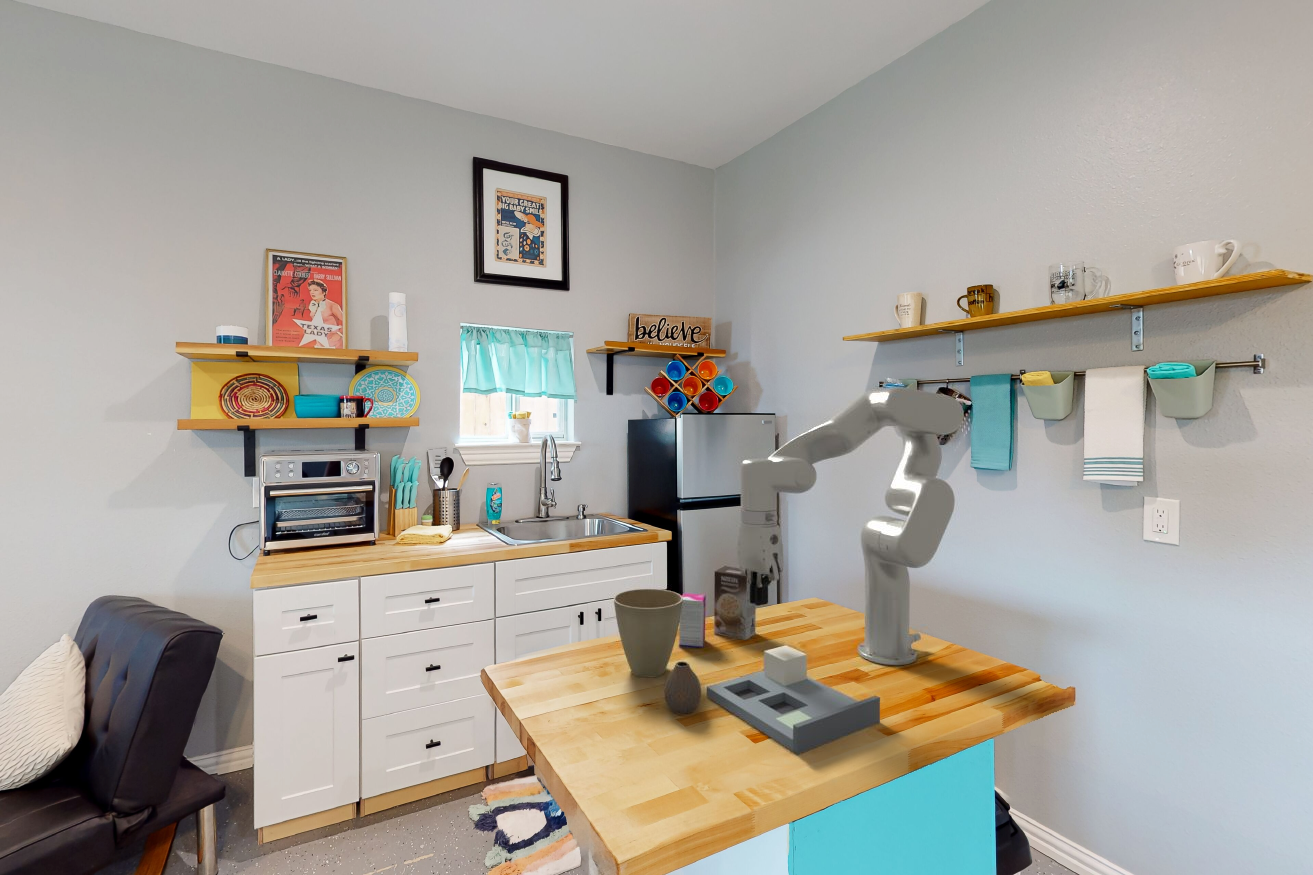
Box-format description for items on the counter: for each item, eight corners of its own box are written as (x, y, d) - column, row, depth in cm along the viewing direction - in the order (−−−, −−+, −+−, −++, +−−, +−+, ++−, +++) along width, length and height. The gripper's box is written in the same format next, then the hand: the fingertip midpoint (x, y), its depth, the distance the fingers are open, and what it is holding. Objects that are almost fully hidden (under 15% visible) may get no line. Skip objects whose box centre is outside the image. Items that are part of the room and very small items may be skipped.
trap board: (782, 673, 134) (782, 652, 134) (879, 722, 113) (879, 697, 113) (706, 696, 124) (706, 673, 124) (797, 754, 103) (797, 727, 102)
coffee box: (712, 634, 159) (712, 570, 158) (724, 626, 164) (723, 565, 164) (746, 640, 154) (746, 575, 154) (757, 632, 160) (756, 569, 159)
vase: (675, 721, 114) (675, 673, 114) (657, 706, 120) (657, 660, 120) (708, 713, 117) (707, 666, 117) (689, 698, 123) (688, 654, 123)
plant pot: (663, 690, 127) (662, 612, 126) (601, 676, 134) (600, 602, 133) (694, 664, 140) (694, 593, 139) (636, 652, 147) (635, 584, 146)
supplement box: (703, 648, 149) (702, 600, 149) (678, 647, 150) (678, 599, 150) (706, 640, 155) (705, 593, 154) (682, 638, 156) (682, 592, 156)
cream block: (786, 668, 132) (785, 645, 132) (806, 678, 127) (806, 654, 127) (764, 675, 129) (764, 651, 129) (784, 685, 124) (784, 660, 124)
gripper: (797, 520, 129) (797, 609, 130) (749, 511, 142) (749, 592, 143) (769, 524, 125) (769, 616, 126) (722, 514, 138) (722, 597, 139)
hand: (758, 603), depth 134 cm, fingers closed
